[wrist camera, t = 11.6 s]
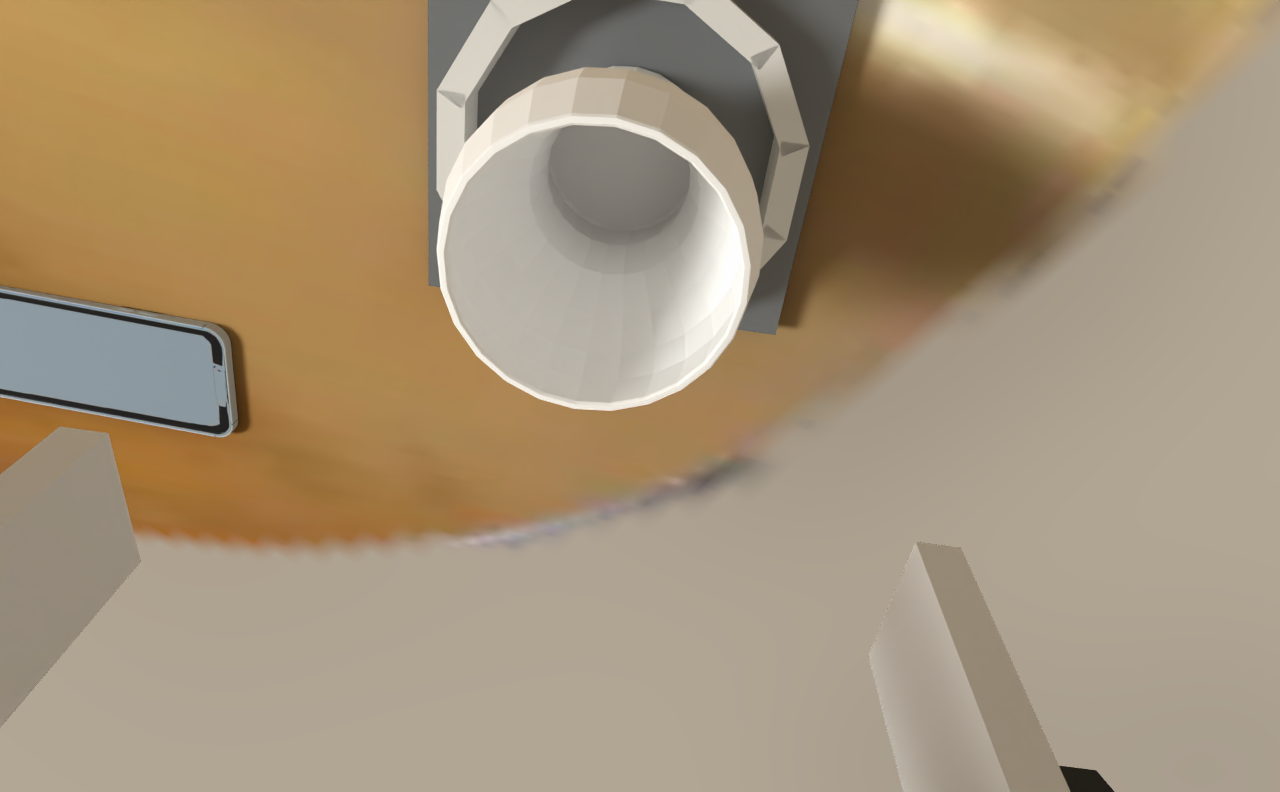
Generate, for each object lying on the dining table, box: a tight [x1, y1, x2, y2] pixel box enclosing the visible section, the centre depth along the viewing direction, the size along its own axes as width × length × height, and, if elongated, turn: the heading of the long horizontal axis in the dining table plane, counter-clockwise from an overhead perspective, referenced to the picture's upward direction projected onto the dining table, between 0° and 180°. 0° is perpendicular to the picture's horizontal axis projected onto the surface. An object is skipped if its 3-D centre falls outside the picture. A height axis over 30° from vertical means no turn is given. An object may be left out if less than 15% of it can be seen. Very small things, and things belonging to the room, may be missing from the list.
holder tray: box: [428, 0, 858, 335], centre depth 36 cm, size 16×18×4 cm
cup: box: [437, 66, 764, 411], centre depth 30 cm, size 11×11×15 cm
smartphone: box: [0, 286, 238, 437], centre depth 45 cm, size 7×1×15 cm
